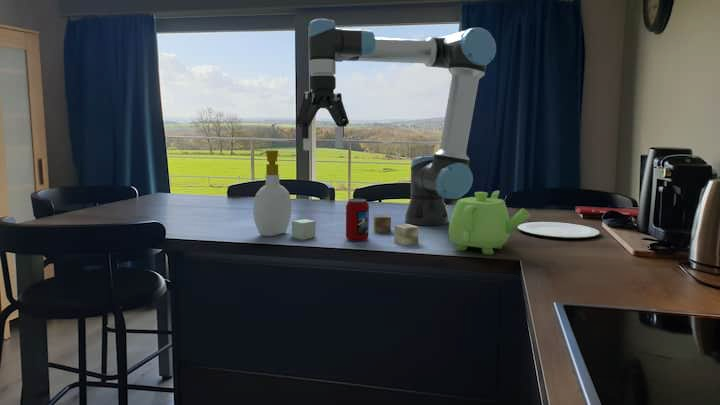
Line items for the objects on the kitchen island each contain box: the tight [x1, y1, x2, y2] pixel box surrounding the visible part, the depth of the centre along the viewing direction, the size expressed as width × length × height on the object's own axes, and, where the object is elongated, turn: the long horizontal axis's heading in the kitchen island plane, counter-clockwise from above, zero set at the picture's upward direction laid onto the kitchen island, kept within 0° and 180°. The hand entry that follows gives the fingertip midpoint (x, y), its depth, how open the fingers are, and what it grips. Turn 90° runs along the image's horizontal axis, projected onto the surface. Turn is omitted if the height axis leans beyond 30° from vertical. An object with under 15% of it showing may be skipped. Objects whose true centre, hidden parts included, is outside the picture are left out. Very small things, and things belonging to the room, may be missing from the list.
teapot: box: [448, 190, 531, 255], centre depth 149 cm, size 25×22×16 cm
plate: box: [517, 221, 601, 240], centre depth 173 cm, size 25×25×2 cm
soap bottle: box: [253, 149, 292, 238], centre depth 165 cm, size 14×9×26 cm, turn 146°
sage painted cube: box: [291, 218, 316, 240], centre depth 163 cm, size 5×5×5 cm
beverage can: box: [345, 198, 370, 242], centre depth 159 cm, size 7×7×12 cm
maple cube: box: [393, 223, 420, 246], centre depth 156 cm, size 5×5×5 cm
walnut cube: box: [373, 214, 392, 234], centre depth 173 cm, size 5×5×5 cm
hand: (323, 149), depth 159 cm, fingers open, 13 cm apart
